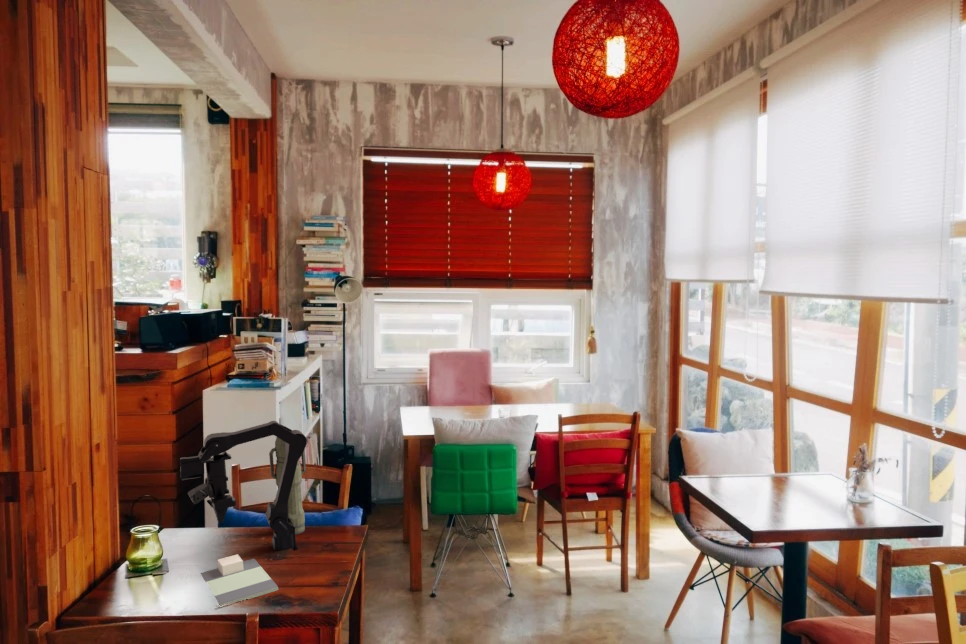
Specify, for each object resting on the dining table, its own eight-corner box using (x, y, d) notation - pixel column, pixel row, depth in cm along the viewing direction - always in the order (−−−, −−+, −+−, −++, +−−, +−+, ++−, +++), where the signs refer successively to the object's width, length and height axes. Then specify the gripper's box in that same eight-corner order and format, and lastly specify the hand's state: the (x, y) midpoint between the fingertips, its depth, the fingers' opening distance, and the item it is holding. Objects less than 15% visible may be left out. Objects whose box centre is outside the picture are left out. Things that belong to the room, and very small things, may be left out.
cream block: (238, 563, 211) (237, 554, 211) (243, 570, 206) (242, 560, 206) (218, 569, 208) (217, 559, 208) (223, 576, 203) (222, 566, 203)
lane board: (254, 561, 215) (254, 558, 215) (278, 590, 195) (278, 586, 195) (201, 576, 206) (200, 573, 206) (220, 607, 186) (220, 604, 186)
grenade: (271, 531, 239) (264, 434, 236) (304, 522, 246) (298, 428, 243) (279, 539, 232) (272, 438, 229) (312, 530, 238) (306, 432, 235)
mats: (254, 558, 215) (254, 558, 215) (278, 586, 195) (278, 586, 195) (200, 573, 206) (200, 573, 206) (220, 604, 186) (220, 604, 186)
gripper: (183, 472, 216) (187, 520, 217) (195, 487, 200) (199, 538, 202) (219, 465, 222) (223, 512, 223) (234, 479, 207) (238, 529, 208)
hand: (220, 522), depth 214 cm, fingers closed
